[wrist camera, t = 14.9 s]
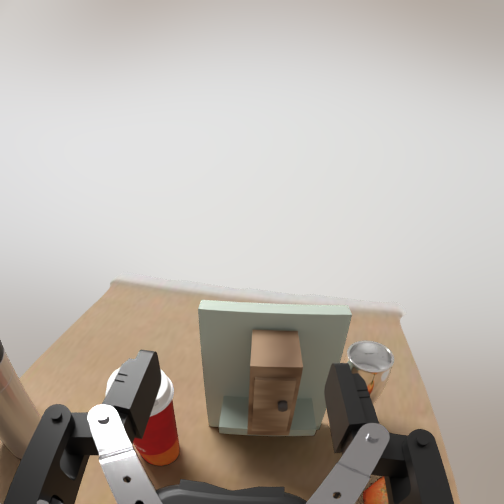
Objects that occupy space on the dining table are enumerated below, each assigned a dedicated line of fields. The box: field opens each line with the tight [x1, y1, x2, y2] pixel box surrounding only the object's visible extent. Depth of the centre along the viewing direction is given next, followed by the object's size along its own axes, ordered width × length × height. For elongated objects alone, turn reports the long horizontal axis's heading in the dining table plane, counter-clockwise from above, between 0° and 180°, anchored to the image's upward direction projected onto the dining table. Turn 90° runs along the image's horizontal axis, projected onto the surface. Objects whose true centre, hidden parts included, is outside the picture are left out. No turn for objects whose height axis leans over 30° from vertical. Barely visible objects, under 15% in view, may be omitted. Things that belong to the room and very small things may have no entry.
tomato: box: [363, 476, 389, 504], centre depth 25 cm, size 8×7×7 cm
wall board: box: [198, 300, 352, 436], centre depth 36 cm, size 17×10×22 cm, turn 88°
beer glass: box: [327, 341, 394, 429], centre depth 38 cm, size 7×7×15 cm
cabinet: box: [247, 329, 303, 435], centre depth 31 cm, size 5×7×12 cm
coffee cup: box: [106, 368, 179, 466], centre depth 32 cm, size 8×8×15 cm
